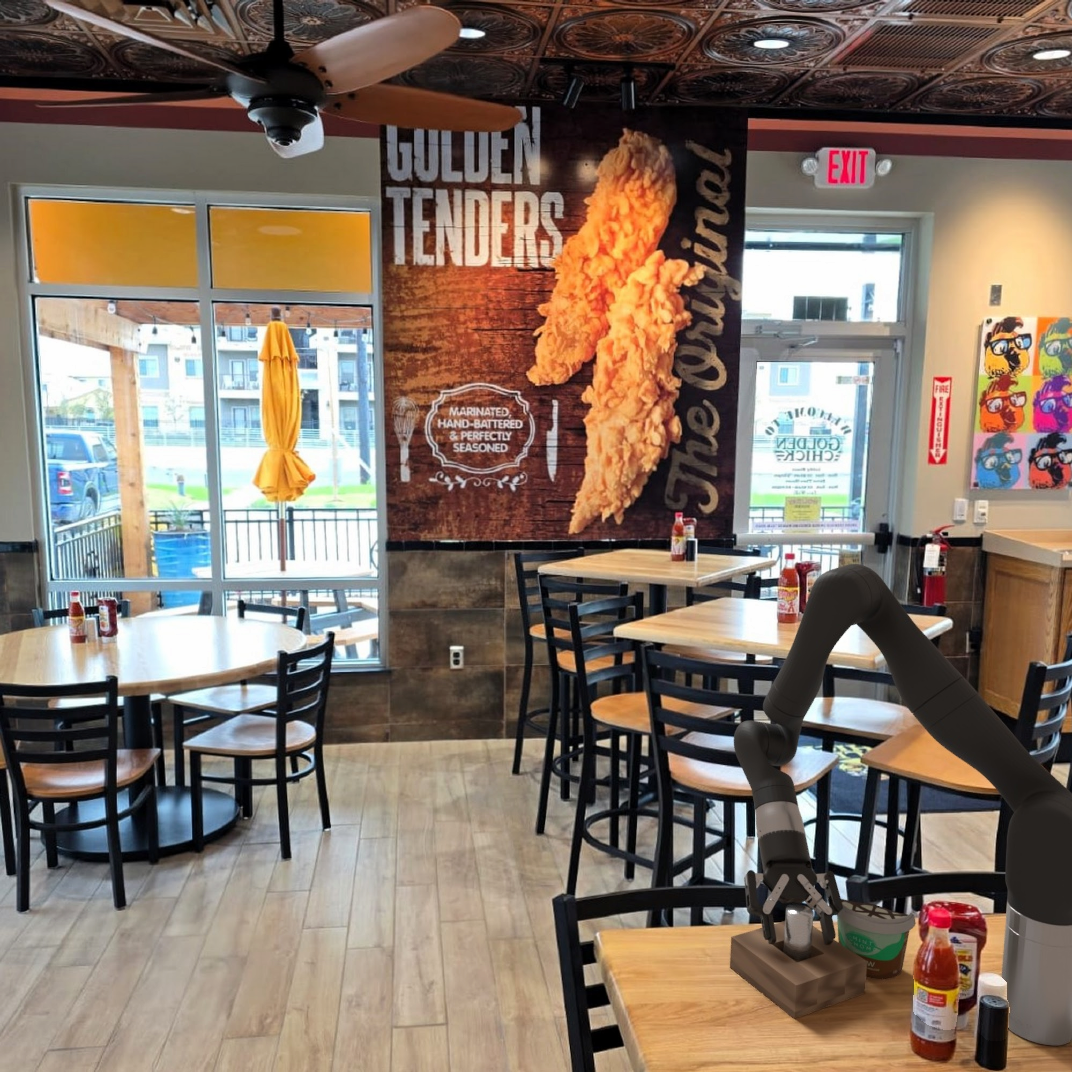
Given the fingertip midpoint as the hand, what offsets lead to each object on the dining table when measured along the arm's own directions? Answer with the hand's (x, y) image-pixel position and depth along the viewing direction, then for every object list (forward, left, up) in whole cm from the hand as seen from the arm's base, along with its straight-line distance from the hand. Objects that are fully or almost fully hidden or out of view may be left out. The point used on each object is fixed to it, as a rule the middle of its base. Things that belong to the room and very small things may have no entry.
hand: (801, 943), depth 134 cm
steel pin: (-1, -1, -6) cm, 6 cm away
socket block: (-1, -1, -7) cm, 7 cm away
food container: (-13, +2, -7) cm, 14 cm away
